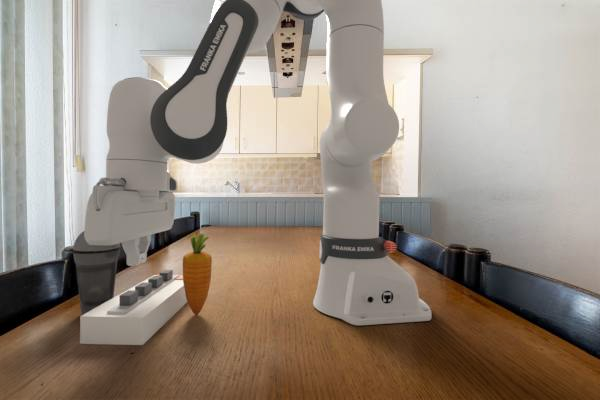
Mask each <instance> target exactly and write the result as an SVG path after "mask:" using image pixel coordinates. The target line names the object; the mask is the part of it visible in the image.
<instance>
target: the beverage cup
mask: <svg viewBox="0 0 600 400" xmlns="http://www.w3.org/2000/svg"><path fill="white" fill-rule="evenodd" d="M72 247H73V248H72V252H71V253H73V254H72V255H73V260H74V264H75V268H76V269H75V270H76V277H77V278H76V279H77V287H78V298H79V307H80V312H81V316H82V315H84V314H85V313H87V312H89V311H91V310H92V309H94V308H96V307H98V306H100V305H101V304H103V303H105V302H107V301H109V300H110V299H112V298H114V297H115V285H116V276H117V269H118V260H119V257H120V253H121V251H120V250H121V248H122V247H121V243H118V244H115V245H89V244H88V243H87V241H86V240H85V237H84V230H83V231H82V232H80V234H79V235H77V237H76V239H75V241H74V243H73V246H72Z"/></svg>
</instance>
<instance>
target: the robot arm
mask: <svg viewBox="0 0 600 400" xmlns="http://www.w3.org/2000/svg"><path fill="white" fill-rule="evenodd" d="M214 1H215V2H214V5H213V7H212V8H213V9H212V13H211V17H210V18H211V19H210V21H209V25H208V26H207V29H206V31H205V32H204V35H203V37H202V38H201V40H200V43H199V45H198V46H197V48H196V50H195V52H194V55H193V57H192V59H191V60H190V63H189V64H188V67H187V68H186V69H185V71H184V73H183V74H182V75H181V77H180V78H178V79H177V81H175V82H174V83H173V84H172V85H171V86H169V87H168V88H167V87H166V86H164V85H163V83H162V82H160V81H158V80H156V79H153V78H148V77H140V76H139V77H138V76H135V77H127V78H126V77H125V78H124V79H121V80H119V81H117V82H116V83H115V84H114V85H113V86H112V88H111V90H110V93H109V99H108V105H107V115H106V116H107V117H106V136H107V139H108V143H109V149H108V153H107V155H106V159H105V162H106V165H105V166H106V167H105V176H104V177H101V178H100V179H99V181H97V182H96V184H95V185H93V187H92V193H91V194H90V195H89V197H88V201H87V205H86V211H85V220H84V230H83V231H84V237H85V240H86V241H87V243H88V244H89V245H115V244H118V243H120V244H121V246H122V247H121V248H122V250H124V254H125V255H126V265H127V266H129V267H137V266H139V265H141V264H143V263H145V262H147V261H148V259H147V258H148V257H147V256H148V253H147V252H148V251H149V247H150V245H151V242H152V235H155V234H158V233H162V232H166V231H169V230H171V229H172V228H173V225H174V221H175V213H176V212H175V209H176V208H175V207H176V197H175V193H176V192H177V191H178V181H177V180H176V178H174V177H173V176H172V175H171V174H170V172H169V171H168V162H169V159H177V160H182V161H183V162H187V163H189V164H204V163H207V162H208V163H209V161H211V160H213V159H215V158H216V157H217V156H218V155H219V153H220V152H221V151H222V148H223V146H224V140H225V139H226V136H227V132H228V111H227V109H228V108H227V107H228V106H227V103H228V99H229V98H228V97H229V94H230V91H231V90H232V87H233V85H234V83H235V80H236V78H237V76H238V73H239V72H240V69H241V66H242V64H243V62H244V60H245V58H246V56H247V55H248V54H256V53H259V52H261V51H263V49H264V48H265V46H266V45H267V44H268V41H269V40H270V39H271V37H272V35H273V33H274V31H275V30H276V28H277V25H278V23H279V21H280V18H281V16H282V13H283V12H285V13H288V14H289V15H290V16H292V17H294V18H295V19H298V20H301V21H312V20H314V19H316V18H318V17H319V16H321V14H323V13H325V17H326V22H327V23H326V24H327V34H326V68H325V69H326V73H325V74H326V75H325V76H326V77H325V78H326V79H325V80H326V81H325V82H326V84H327V86H328V91H329V98H330V107H331V111H330V112H331V115H330V121H329V123H328V124H327V125H326V126H325V127H324V129H323V130H322V132H321V135H320V139H319V152H320V153H319V154H320V156H319V157H320V172H321V180H322V190H323V191H322V192H323V194H322V195H323V196H322V197H323V210H322V212H323V214H322V234H320V240H319V262H320V271H319V276H318V282H317V288H316V291H315V295H314V298H313V302H312V305H313V307H314V308H315V309H316V310H317V311H318V312H320V313H323V314H324V315H328V316H331V317H334V318H336V319H341V320H342V321H344V322H346V323H348V324H350V325H353V326H369V325H385V324H387V325H388V324H399V323H415V322H427V321H428V322H429V321H431V320H432V319H433V318H432V317H433V316H432V310H431V308H430V306H429V304H427V303H426V302H425V301H424V300H422V299H421V298H419V297H420V296H419V291H418V290H419V289H418V286H417V283H416V281H415V279H414V278H413V276H412V275H411V274H409V273H408V272H407V270H405V269H404V268H403V267H401V266H400V265H399V264H398V263H397V262H396V261H394V260H393V259H392V258H391V257H390V256H389V255H388V254H389V253H395V252H396V251H397V248H398V246H397V244H396V243H395V242H393V241H392V240H386V239H384V238H383V237H381V236H379V235H380V234H379V233H380V204H381V203H380V201H381V200H380V195H379V192H378V190H377V188H376V183H375V180H374V175H373V170H372V169H373V168H372V162H374V161H377V160H379V159H380V158H381V157H382V156H384V155H385V154H386V153H387V152H388V151H389V150H390V149H391V148H392V146H393V145H394V144H395V143H396V141H397V139H398V136H399V133H400V123H399V122H400V121H399V118H398V115H397V112H396V110H395V109H394V108H393V107H392V106H391V104H389V100H388V95H387V91H386V87H385V79H384V77H385V76H384V49H385V48H384V47H385V46H384V43H385V42H384V38H385V36H384V35H385V33H384V32H385V26H384V22H385V21H384V12H383V11H384V10H383V9H384V8H383V3H382V0H214Z"/></svg>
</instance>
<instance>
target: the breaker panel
mask: <svg viewBox="0 0 600 400" xmlns="http://www.w3.org/2000/svg"><path fill="white" fill-rule="evenodd" d="M173 273H174V272H173V269H164V270H162V271H160V272H159V274H154V275H151V276H150V277H148V278H146V279H145V280H142V281H140V282H139V283H137V284H136V285H134V286H132V287H130V288H129V289H127V290H124V291H123V292H121V293H119V294H118V295H115V296H114V297H113V298H112V299H110V300H109V301H107V302H105V303H103V304H101V305H100V306H98V307H96V308H94V309H92V310H91V311H89V312H87V313H85V314H84V315H82V314H81V315H80V317H79V319H80V321H79V324H80V327H79V329H80V330H79V344H80V345H85V344H86V345H113V346H114V345H116V346H118V345H119V346H120V345H121V346H122V345H123V346H127V345H128V346H143V345H145V344H146V342H148V341H149V340H150V339H151V338H152V337H153V336H154V335H155V334H156V333H157V332H158V331H159V330H160V329H161V328H162V327H163V326H165V324H166V323H167V322H169V320H170V319H171V318H173V317H174V315H175V314H177V312H179V311H180V310H181V309H182V308H183V307H184V306H185V305H186V304H187V303H188V301H187V299H186V294H185V289H184V283H183V274H173Z"/></svg>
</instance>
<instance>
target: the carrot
mask: <svg viewBox="0 0 600 400" xmlns="http://www.w3.org/2000/svg"><path fill="white" fill-rule="evenodd" d="M190 236H191V237H190V242H191V243H190V244H191V246H192V250H193V251H190V252H187V253H186V254H185V255H184V256H183V258H182V275H183V283H184V289H185V294H186V299H187V301H188V302H187V303H188V306H189V308H190V310H191V312H192V313H193V314H194V315H195V316H198V315H199V314H201V311H202V310H203V307H204V306H205V303H206V300H207V298H208V293H209V291H210V290H209V289H210V285H211V281H212V280H211V279H212V268H213V267H212V261H213V260H212V259H213V257H212V255H211V254H210V253H209V252H206V251H203V249H204V248H205V247H206V246H207V244H205V242H206V241H208V240H209V238H210V237H209V236H205V233H203V232H199V235H198V237H197V236H196V234H195V233H192V234H191V235H190Z"/></svg>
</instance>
